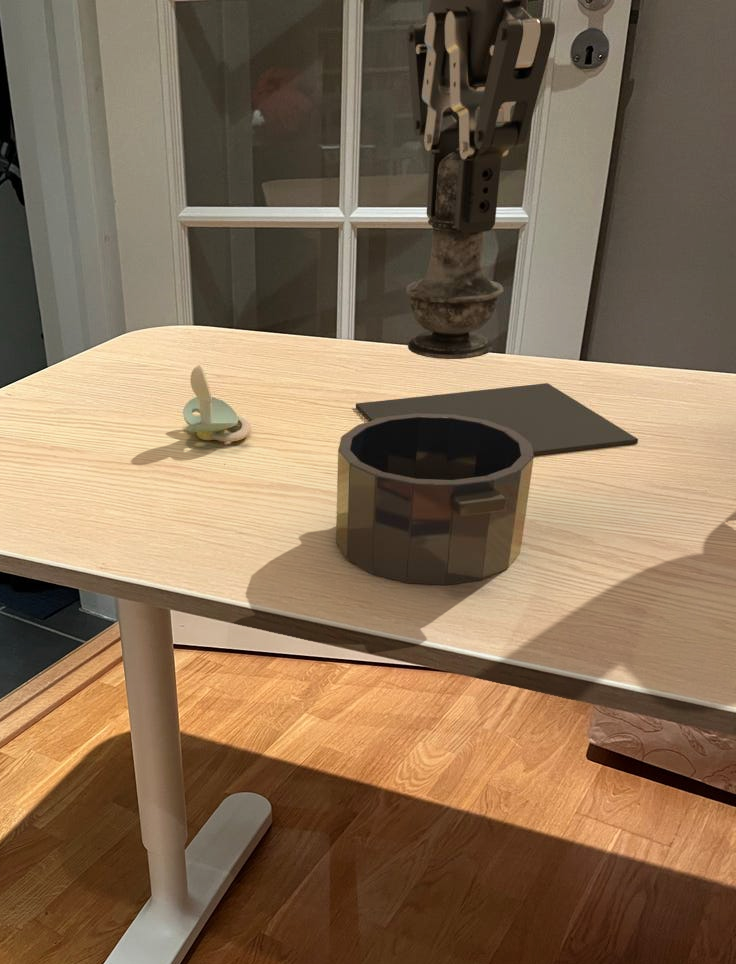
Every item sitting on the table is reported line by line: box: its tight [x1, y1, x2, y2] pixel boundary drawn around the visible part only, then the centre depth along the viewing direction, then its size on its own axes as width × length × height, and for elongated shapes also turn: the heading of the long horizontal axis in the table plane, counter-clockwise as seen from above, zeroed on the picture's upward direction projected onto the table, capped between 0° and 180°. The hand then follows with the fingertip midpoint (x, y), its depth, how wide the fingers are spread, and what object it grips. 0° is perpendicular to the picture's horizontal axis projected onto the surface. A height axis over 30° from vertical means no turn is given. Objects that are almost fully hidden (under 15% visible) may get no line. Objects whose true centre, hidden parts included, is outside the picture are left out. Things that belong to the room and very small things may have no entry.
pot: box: [335, 413, 535, 586], centre depth 64 cm, size 13×16×7 cm
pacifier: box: [182, 364, 252, 443], centre depth 83 cm, size 7×6×6 cm
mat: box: [355, 382, 639, 457], centre depth 85 cm, size 20×16×1 cm
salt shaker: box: [405, 149, 504, 360], centre depth 56 cm, size 6×6×12 cm
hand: (459, 223), depth 55 cm, fingers closed on salt shaker, 3 cm apart
